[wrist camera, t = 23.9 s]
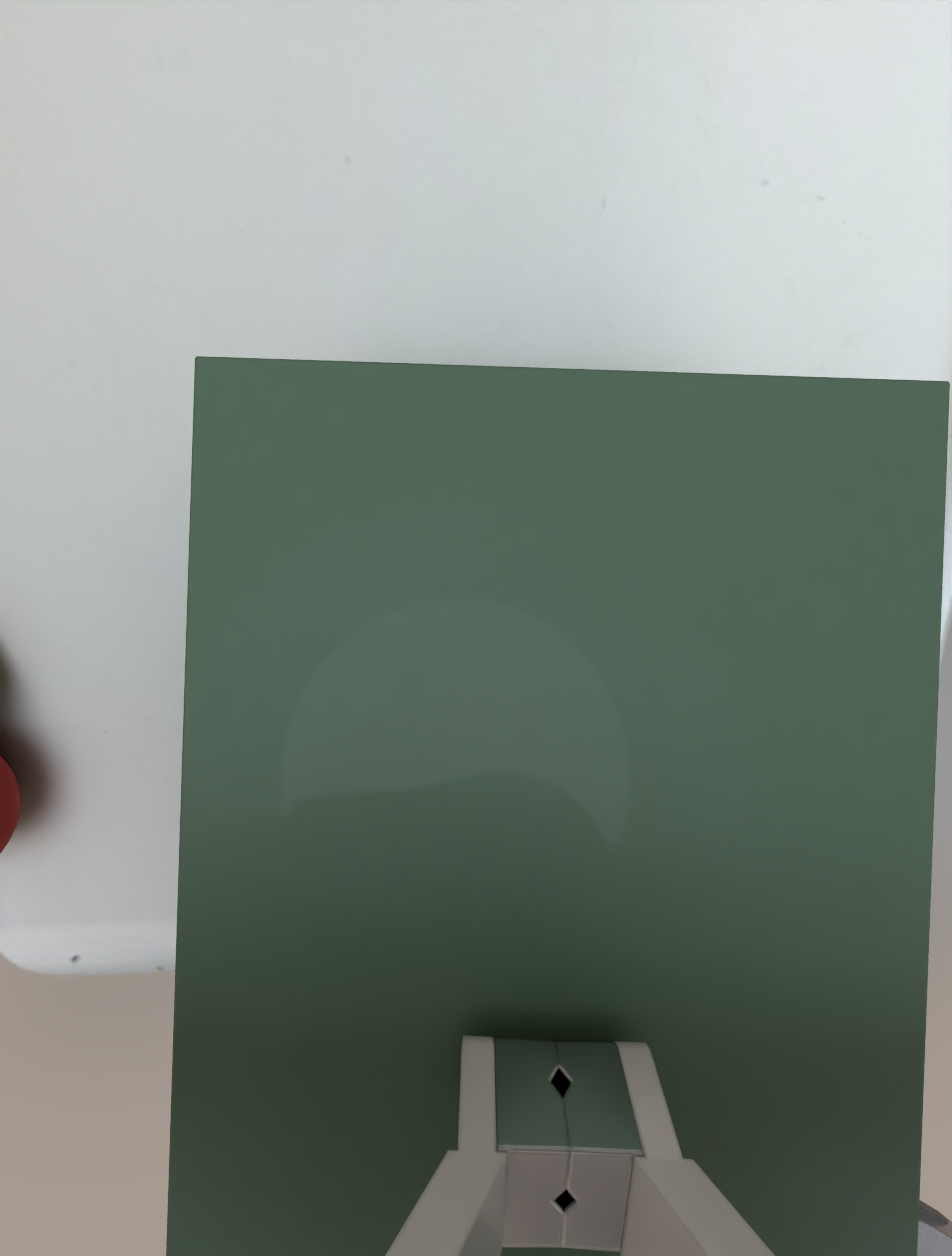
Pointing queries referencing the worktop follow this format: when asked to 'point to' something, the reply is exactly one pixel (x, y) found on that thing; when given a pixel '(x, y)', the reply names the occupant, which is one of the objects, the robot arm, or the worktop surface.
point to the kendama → (8, 803)
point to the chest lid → (554, 780)
